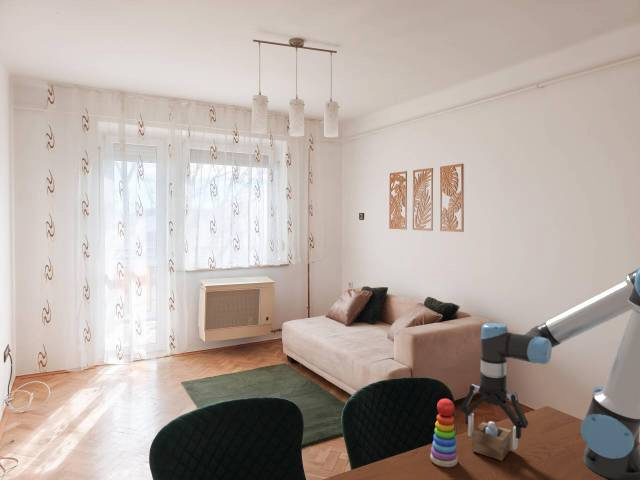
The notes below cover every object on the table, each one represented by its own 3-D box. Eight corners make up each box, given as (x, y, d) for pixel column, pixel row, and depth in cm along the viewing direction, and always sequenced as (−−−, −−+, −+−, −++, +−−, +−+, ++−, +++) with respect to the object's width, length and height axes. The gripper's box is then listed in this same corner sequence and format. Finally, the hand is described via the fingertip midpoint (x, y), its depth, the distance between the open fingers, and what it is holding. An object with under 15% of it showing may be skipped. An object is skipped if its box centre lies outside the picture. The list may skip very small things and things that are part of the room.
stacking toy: (459, 470, 133) (460, 406, 132) (430, 466, 135) (431, 404, 134) (456, 456, 141) (457, 395, 140) (429, 453, 142) (430, 393, 141)
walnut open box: (510, 448, 144) (511, 430, 144) (501, 460, 137) (502, 441, 137) (482, 439, 150) (482, 421, 150) (471, 450, 143) (472, 431, 143)
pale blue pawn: (506, 450, 144) (507, 422, 144) (499, 459, 139) (499, 430, 138) (483, 443, 149) (484, 415, 148) (475, 451, 143) (476, 423, 143)
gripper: (539, 379, 138) (538, 448, 139) (458, 362, 153) (458, 425, 154) (533, 386, 132) (532, 458, 133) (449, 368, 147) (449, 433, 148)
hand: (492, 441), depth 143 cm, fingers open, 13 cm apart
